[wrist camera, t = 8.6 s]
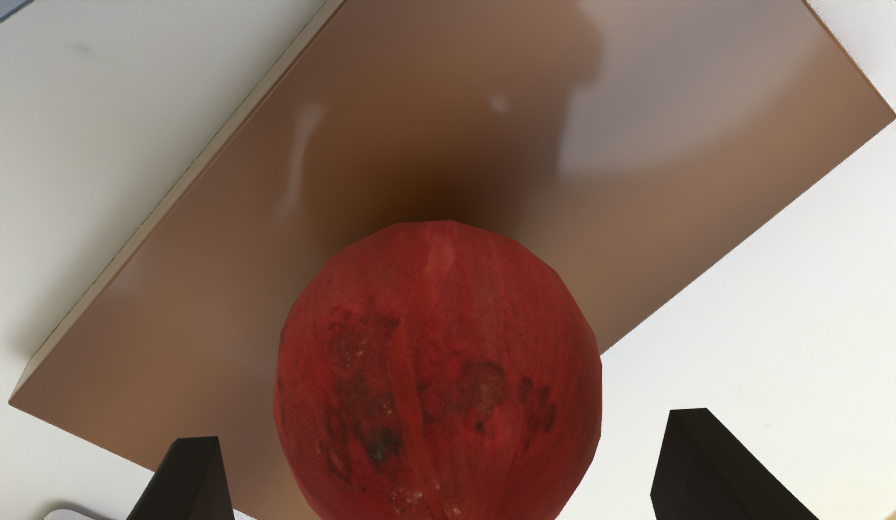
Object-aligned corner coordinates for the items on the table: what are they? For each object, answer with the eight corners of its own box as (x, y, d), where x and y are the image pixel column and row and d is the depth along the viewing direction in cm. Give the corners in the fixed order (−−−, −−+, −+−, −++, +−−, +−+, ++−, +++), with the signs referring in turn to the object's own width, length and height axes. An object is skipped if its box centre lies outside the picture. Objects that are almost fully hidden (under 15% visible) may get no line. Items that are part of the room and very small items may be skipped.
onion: (232, 232, 16) (147, 576, 10) (478, 96, 15) (573, 380, 9) (380, 404, 19) (392, 754, 13) (594, 301, 18) (729, 627, 12)
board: (861, 90, 18) (900, 117, 16) (345, 518, 24) (344, 561, 23) (560, -285, 13) (582, -286, 12) (27, 361, 20) (5, 404, 18)
